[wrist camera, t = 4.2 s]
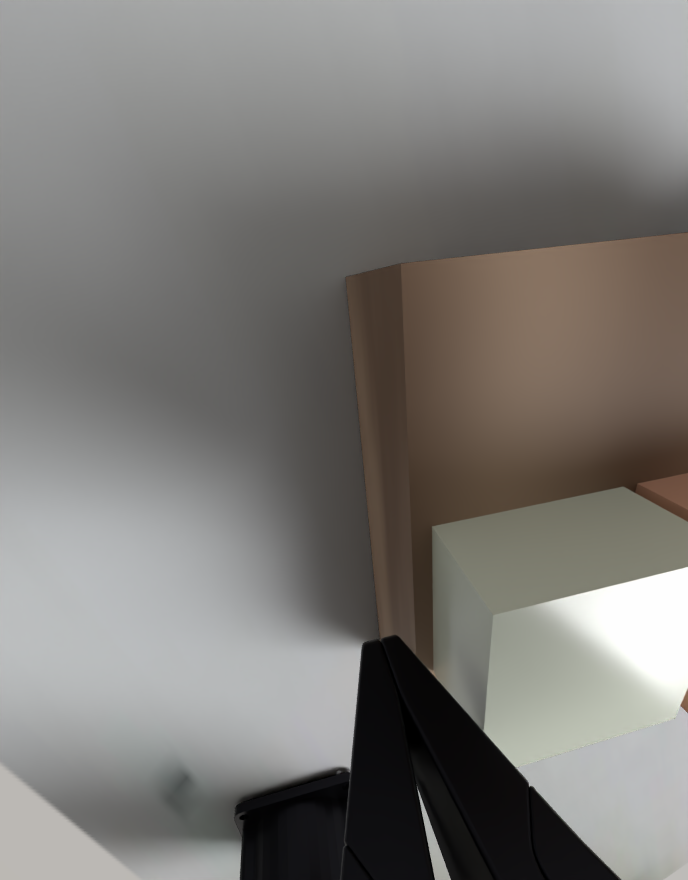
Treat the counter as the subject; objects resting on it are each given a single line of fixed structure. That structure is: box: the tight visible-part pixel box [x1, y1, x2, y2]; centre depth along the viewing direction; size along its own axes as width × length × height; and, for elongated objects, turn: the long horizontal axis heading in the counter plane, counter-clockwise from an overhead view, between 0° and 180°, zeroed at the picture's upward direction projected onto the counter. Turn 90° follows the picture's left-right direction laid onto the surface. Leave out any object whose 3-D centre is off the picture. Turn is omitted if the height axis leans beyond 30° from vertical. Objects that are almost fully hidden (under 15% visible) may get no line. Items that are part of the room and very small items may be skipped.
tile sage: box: [432, 487, 688, 768], centre depth 8 cm, size 5×5×2 cm
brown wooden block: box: [346, 232, 688, 677], centre depth 12 cm, size 12×16×5 cm
